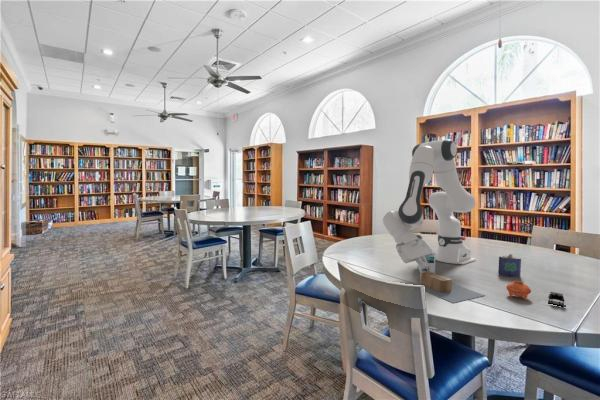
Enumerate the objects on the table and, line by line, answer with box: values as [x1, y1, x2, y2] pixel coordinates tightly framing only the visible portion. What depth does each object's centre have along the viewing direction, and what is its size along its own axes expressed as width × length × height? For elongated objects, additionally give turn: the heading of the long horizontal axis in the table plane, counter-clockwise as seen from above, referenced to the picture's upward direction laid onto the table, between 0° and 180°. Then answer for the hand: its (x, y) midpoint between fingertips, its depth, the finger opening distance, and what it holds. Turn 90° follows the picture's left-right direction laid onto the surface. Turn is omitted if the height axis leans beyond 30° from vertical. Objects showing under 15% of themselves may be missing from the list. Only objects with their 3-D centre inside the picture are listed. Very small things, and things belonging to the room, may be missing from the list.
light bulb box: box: [417, 250, 436, 274], centre depth 152 cm, size 11×7×11 cm, turn 168°
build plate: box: [547, 291, 566, 307], centre depth 113 cm, size 12×7×5 cm, turn 53°
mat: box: [423, 283, 486, 304], centre depth 126 cm, size 18×18×1 cm
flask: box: [497, 253, 522, 277], centre depth 146 cm, size 9×3×11 cm, turn 74°
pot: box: [506, 280, 532, 301], centre depth 120 cm, size 8×8×7 cm
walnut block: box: [419, 271, 452, 293], centre depth 130 cm, size 5×5×12 cm
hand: (426, 266), depth 135 cm, fingers closed
